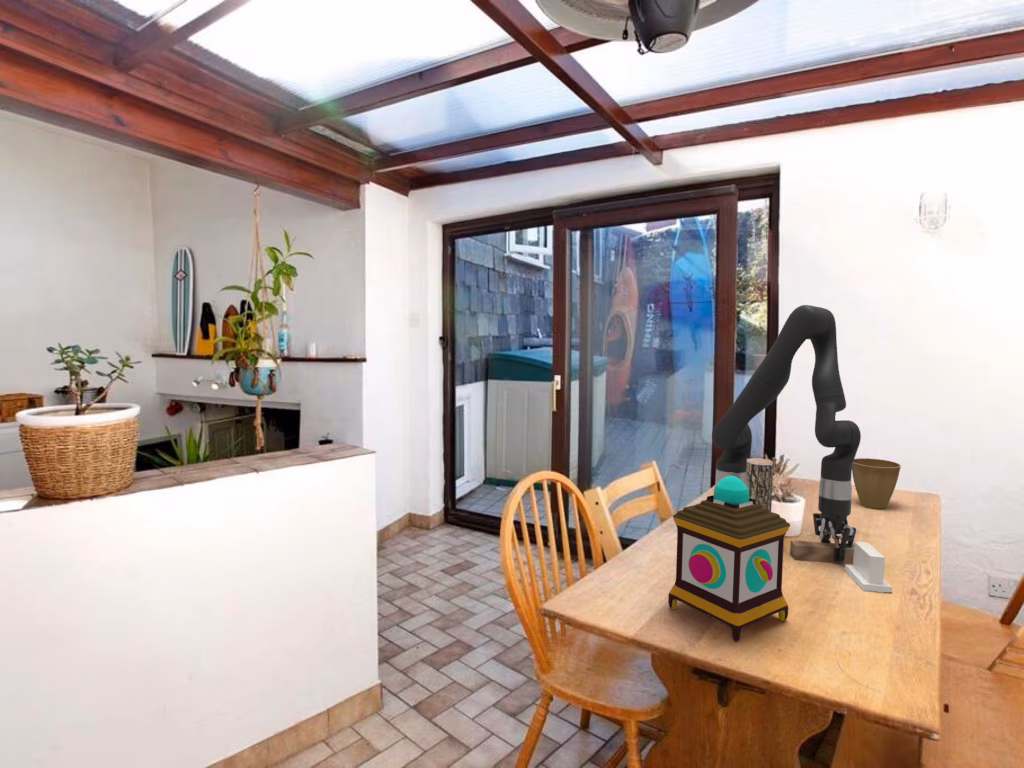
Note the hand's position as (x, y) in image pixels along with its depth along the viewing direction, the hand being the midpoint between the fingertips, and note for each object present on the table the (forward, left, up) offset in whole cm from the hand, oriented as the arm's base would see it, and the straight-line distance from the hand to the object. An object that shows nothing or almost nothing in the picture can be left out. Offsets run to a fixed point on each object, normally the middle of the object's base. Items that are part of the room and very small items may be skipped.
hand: (832, 557), depth 148 cm
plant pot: (+31, +58, -1) cm, 66 cm away
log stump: (-18, +4, -1) cm, 19 cm away
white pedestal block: (+4, -13, -1) cm, 13 cm away
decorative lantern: (-32, -39, -1) cm, 50 cm away
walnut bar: (0, 0, -1) cm, 1 cm away
